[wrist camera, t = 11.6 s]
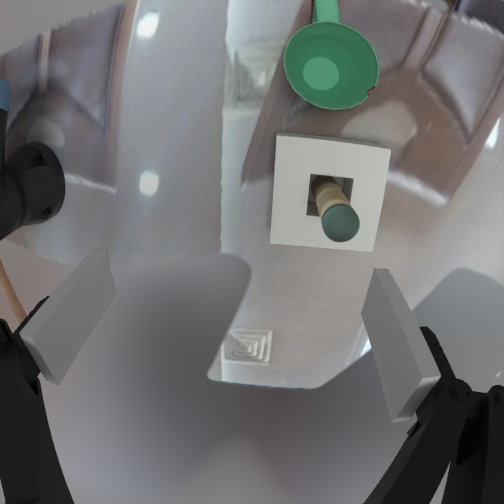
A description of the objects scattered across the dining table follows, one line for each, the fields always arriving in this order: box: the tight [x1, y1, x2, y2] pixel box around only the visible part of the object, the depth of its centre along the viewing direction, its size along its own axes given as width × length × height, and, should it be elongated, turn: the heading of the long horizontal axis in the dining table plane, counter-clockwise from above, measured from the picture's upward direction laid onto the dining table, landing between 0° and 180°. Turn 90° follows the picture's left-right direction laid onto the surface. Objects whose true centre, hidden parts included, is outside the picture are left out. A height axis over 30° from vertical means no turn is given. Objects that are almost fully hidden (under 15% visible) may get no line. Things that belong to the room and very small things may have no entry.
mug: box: [283, 0, 380, 110], centre depth 28 cm, size 15×10×10 cm
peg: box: [311, 175, 360, 242], centre depth 34 cm, size 4×4×14 cm
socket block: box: [270, 132, 391, 252], centre depth 38 cm, size 14×14×5 cm
